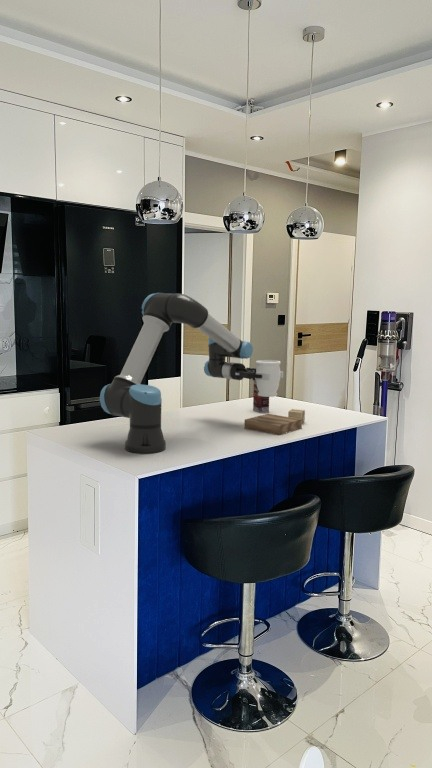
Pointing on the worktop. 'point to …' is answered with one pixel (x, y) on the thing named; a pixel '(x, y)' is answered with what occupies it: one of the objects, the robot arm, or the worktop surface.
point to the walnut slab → (273, 424)
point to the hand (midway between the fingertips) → (276, 375)
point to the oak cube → (297, 414)
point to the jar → (270, 386)
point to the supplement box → (260, 401)
